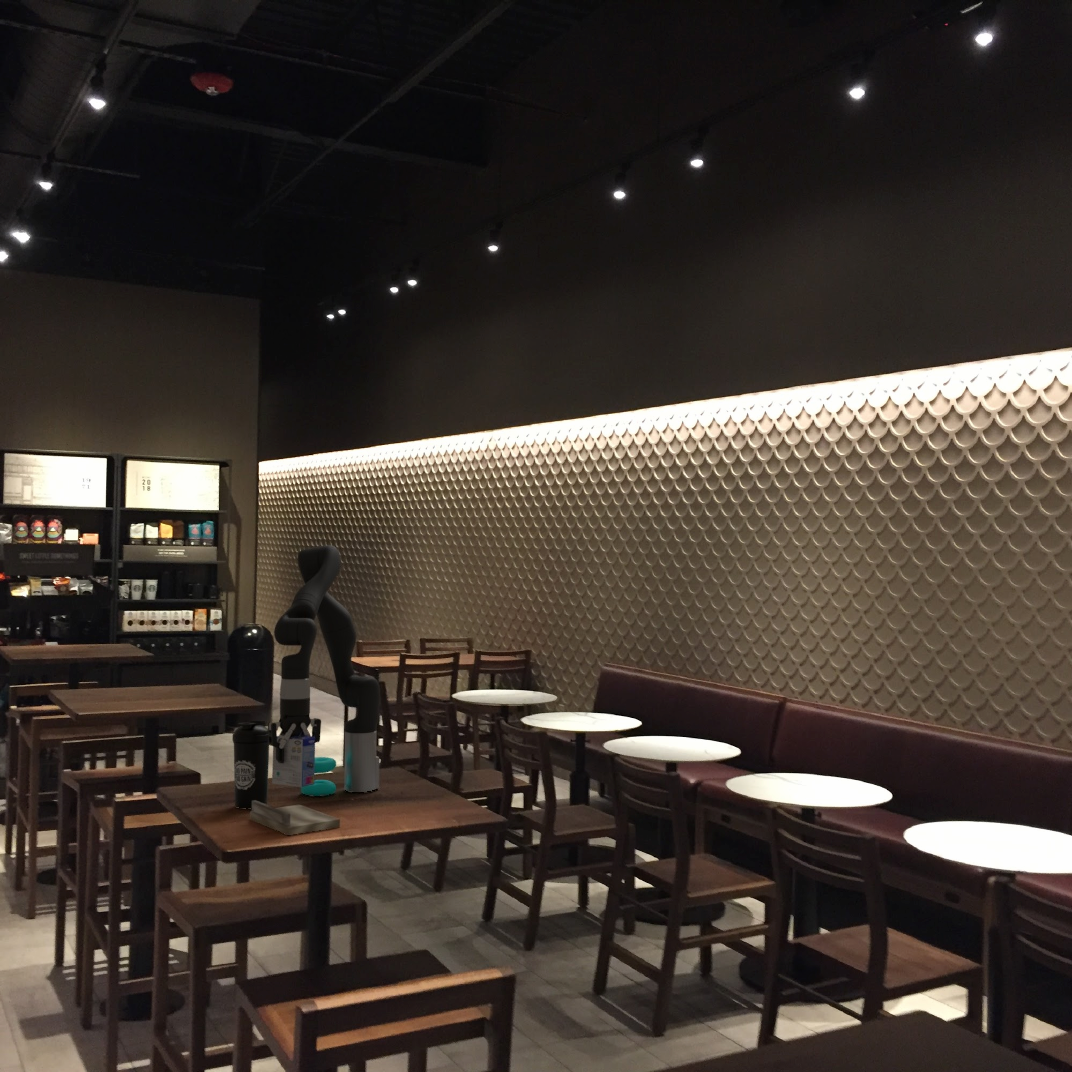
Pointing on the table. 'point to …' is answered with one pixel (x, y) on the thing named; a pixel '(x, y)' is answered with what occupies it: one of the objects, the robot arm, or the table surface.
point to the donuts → (321, 785)
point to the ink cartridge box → (295, 762)
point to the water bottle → (251, 763)
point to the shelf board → (292, 818)
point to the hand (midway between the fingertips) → (294, 761)
